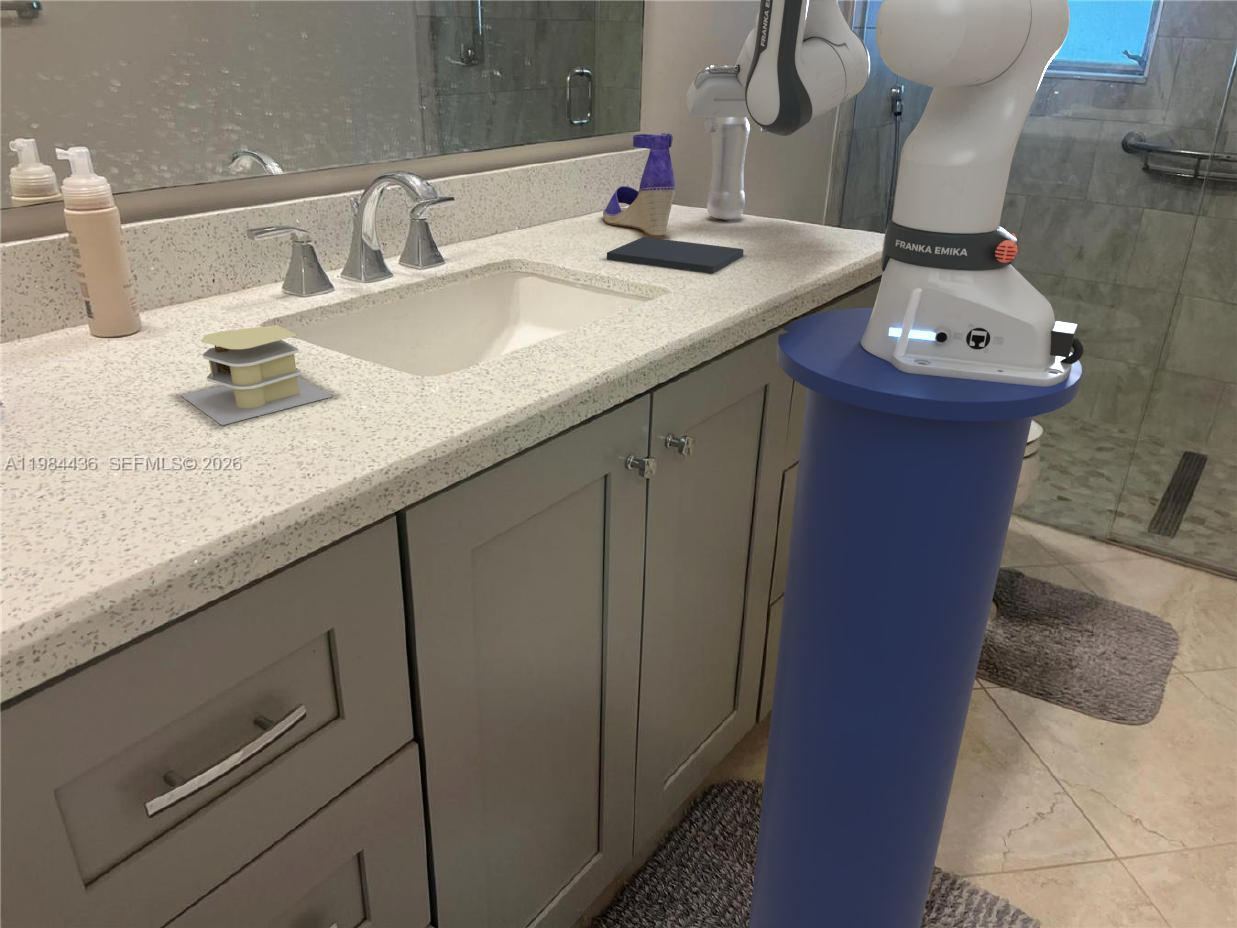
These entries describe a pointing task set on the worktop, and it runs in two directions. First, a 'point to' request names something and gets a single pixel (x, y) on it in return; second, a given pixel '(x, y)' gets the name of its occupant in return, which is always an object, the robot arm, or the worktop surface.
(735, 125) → the plastic bottle
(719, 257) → the dark rectangular flat slab
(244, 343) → the stacked layers on plate
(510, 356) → the worktop surface
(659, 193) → the sandal
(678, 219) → the worktop surface
